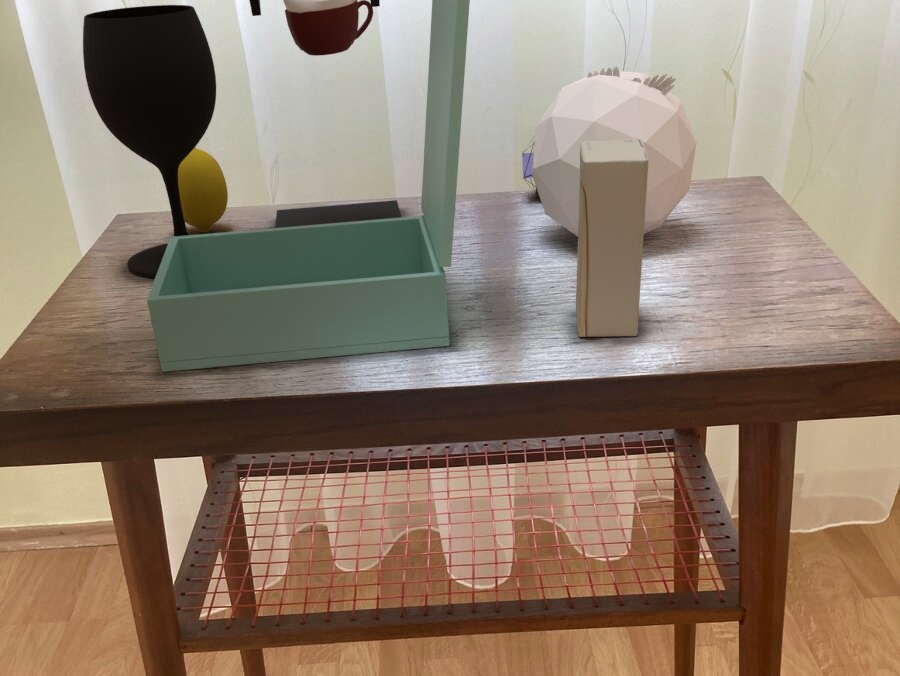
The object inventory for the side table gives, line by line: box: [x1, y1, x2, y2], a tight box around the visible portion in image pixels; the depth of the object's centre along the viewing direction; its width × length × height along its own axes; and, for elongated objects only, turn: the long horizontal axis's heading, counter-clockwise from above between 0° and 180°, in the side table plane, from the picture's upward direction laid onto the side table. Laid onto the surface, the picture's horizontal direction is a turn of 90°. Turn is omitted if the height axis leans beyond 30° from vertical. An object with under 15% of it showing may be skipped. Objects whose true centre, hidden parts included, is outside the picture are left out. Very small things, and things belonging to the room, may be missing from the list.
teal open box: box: [146, 215, 451, 373], centre depth 83 cm, size 20×15×5 cm
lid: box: [420, 0, 471, 268], centre depth 76 cm, size 21×15×4 cm
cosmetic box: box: [575, 138, 648, 338], centre depth 77 cm, size 6×4×12 cm
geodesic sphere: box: [532, 66, 697, 237], centre depth 94 cm, size 15×14×14 cm
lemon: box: [178, 146, 229, 233], centre depth 105 cm, size 6×6×8 cm
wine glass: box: [82, 4, 217, 279], centre depth 94 cm, size 10×10×20 cm
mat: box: [274, 199, 402, 228], centre depth 105 cm, size 12×12×1 cm
